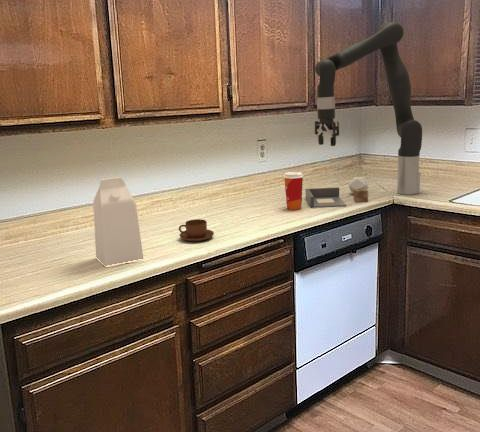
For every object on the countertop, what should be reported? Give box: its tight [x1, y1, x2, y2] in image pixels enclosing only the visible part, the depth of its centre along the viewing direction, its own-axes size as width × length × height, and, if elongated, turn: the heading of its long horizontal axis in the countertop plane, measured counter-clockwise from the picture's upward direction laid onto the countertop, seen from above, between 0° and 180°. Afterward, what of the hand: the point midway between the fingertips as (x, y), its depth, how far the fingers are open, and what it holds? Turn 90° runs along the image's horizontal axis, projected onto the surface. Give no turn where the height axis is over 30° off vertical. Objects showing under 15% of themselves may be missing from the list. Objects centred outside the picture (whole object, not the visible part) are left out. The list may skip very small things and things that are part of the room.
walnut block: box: [353, 189, 369, 203], centre depth 236 cm, size 5×5×5 cm
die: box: [348, 176, 369, 196], centre depth 249 cm, size 8×9×10 cm
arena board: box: [304, 187, 347, 209], centre depth 236 cm, size 15×18×5 cm
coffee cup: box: [283, 171, 304, 211], centre depth 226 cm, size 8×8×15 cm
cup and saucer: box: [178, 218, 215, 242], centre depth 190 cm, size 12×12×6 cm
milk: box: [92, 176, 144, 266], centre depth 168 cm, size 12×12×26 cm
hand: (327, 145), depth 238 cm, fingers open, 8 cm apart
